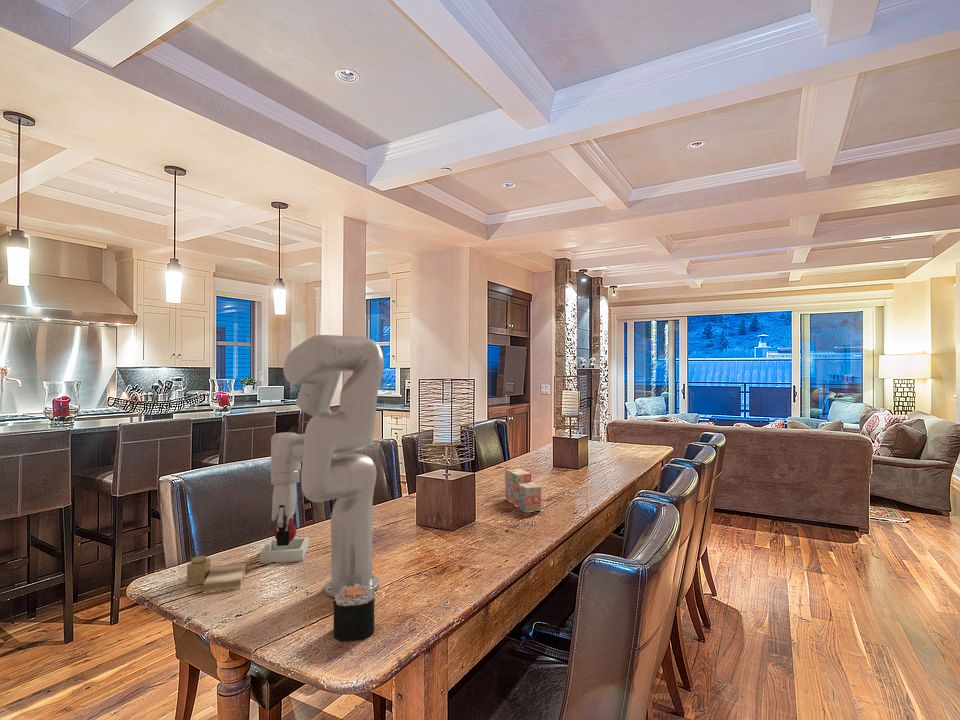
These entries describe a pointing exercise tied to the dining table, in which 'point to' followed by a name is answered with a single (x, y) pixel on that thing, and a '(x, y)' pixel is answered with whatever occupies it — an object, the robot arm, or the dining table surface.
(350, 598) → the sushi
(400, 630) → the dining table surface
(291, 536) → the onion
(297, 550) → the ceramic dish
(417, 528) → the dining table surface
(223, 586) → the maple board
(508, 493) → the stack of blocks
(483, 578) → the dining table surface
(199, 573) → the bench dog
